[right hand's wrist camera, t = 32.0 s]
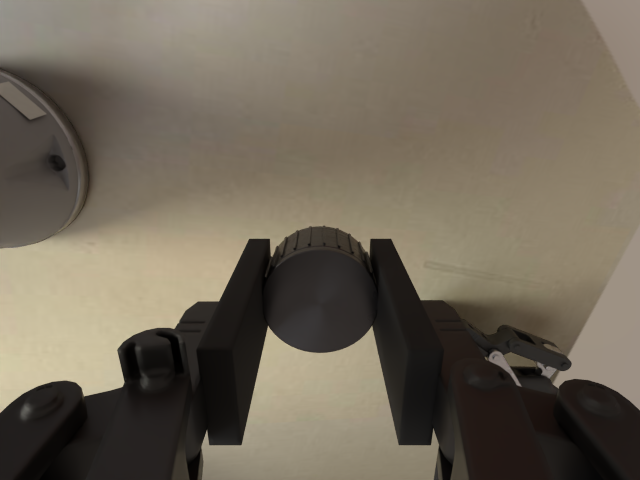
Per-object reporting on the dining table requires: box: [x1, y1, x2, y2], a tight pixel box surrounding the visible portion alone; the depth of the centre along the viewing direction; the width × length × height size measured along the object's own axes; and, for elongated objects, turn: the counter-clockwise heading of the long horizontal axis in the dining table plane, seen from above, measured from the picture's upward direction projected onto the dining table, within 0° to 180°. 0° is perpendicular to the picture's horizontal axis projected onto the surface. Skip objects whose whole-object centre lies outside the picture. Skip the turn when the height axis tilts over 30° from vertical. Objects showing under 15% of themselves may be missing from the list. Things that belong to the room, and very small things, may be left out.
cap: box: [262, 226, 378, 353], centre depth 13 cm, size 4×4×2 cm
